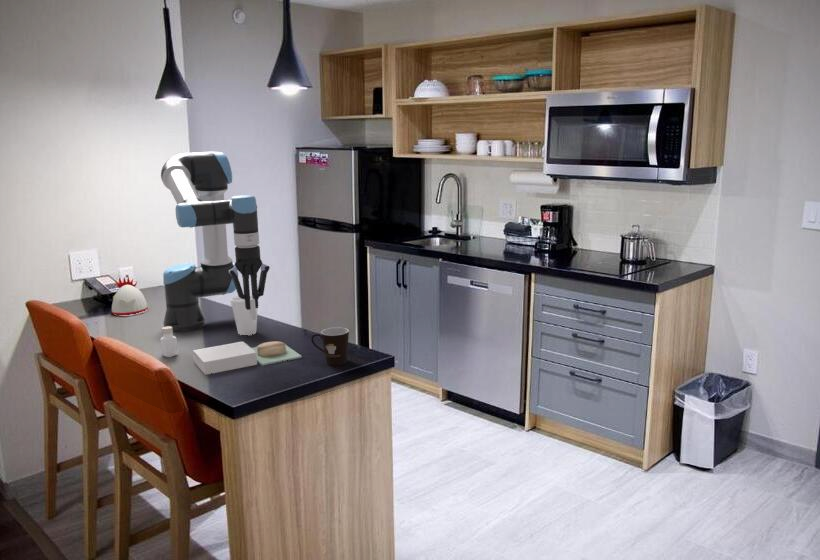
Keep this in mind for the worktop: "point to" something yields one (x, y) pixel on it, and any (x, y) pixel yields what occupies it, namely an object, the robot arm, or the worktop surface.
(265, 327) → the worktop surface
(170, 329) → the pepper shaker
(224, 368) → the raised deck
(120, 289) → the white dome hat
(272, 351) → the tan flat disc
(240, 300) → the foam cup
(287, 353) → the rubber mat
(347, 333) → the coffee mug
